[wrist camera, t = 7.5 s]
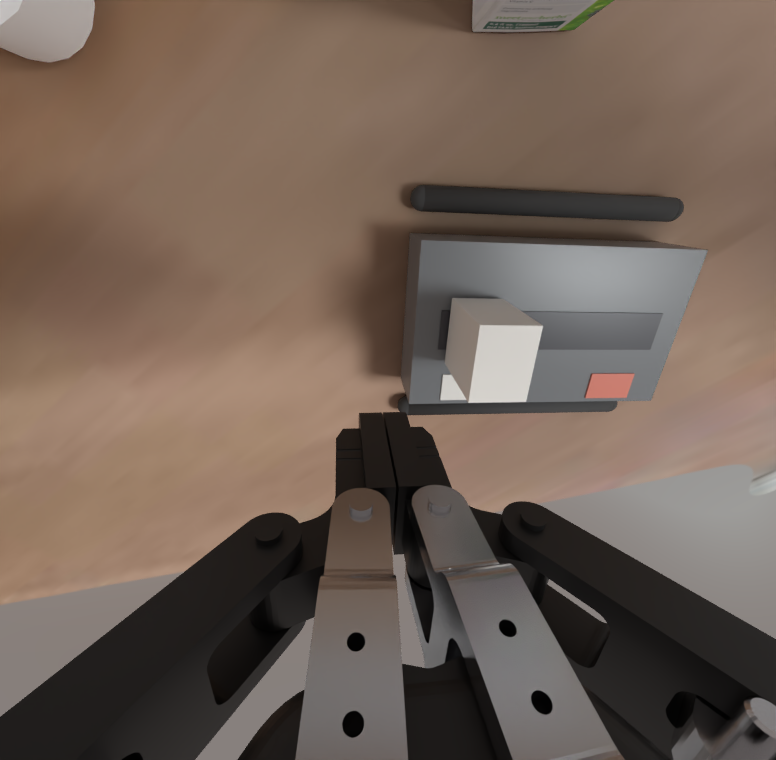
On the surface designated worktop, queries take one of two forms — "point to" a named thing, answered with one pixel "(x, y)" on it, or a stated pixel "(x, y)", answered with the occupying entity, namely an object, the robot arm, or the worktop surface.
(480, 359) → the handle
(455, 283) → the breaker panel
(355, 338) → the worktop surface
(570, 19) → the syrup box
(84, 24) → the skeletal toy car
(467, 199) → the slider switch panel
